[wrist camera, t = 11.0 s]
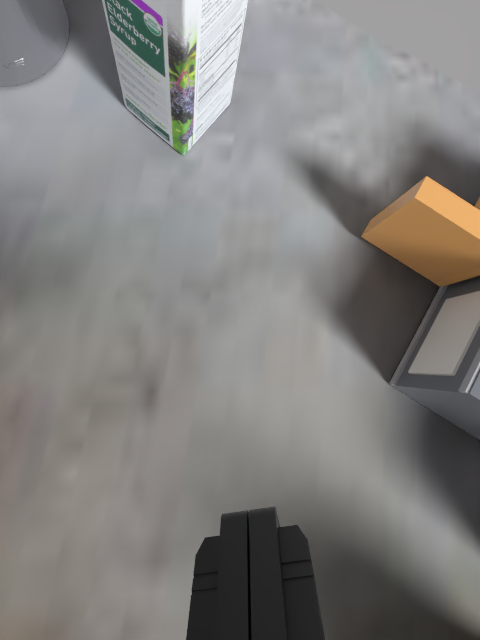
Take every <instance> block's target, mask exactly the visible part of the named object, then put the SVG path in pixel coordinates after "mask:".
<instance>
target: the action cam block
mask: <svg viewBox="0 0 480 640" xmlns="http://www.w3.org/2000/svg"><path fill="white" fill-rule="evenodd" d="M389 384H390V385H391V386H392V387H394V388H395V389H397V390H399V391H400V392H402V393H404V394H405V395H407V396H409V397H410V398H412V399H413V400H415V401H417V402H418V403H420V404H422V405H423V406H425V407H426V408H428V409H430V410H431V411H433V412H435V413H436V414H438V415H439V416H441V417H443V418H444V419H446V420H448V421H449V422H451V423H452V424H454V425H456V426H457V427H459V428H461V429H462V430H464V431H466V432H467V433H469V434H470V435H472V436H474V437H475V438H477V439H479V440H480V275H479V276H476V277H473V278H469V279H466V280H463V281H459V282H456V283H453V284H449V285H446V286H443V287H440V288H439V290H438V292H437V294H436V296H435V297H434V299H433V301H432V303H431V305H430V307H429V309H428V311H427V313H426V315H425V316H424V318H423V320H422V322H421V324H420V326H419V328H418V330H417V332H416V334H415V335H414V337H413V339H412V341H411V343H410V345H409V347H408V349H407V351H406V353H405V354H404V356H403V358H402V360H401V362H400V364H399V366H398V368H397V370H396V372H395V373H394V375H393V377H392V379H391V381H390V383H389Z"/></svg>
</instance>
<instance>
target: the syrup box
mask: <svg viewBox="0 0 480 640" xmlns="http://www.w3.org/2000/svg"><path fill="white" fill-rule="evenodd" d="M247 3H248V0H102V4H103V8H104V12H105V16H106V21H107V26H108V30H109V35H110V39H111V43H112V48H113V53H114V57H115V62H116V66H117V71H118V75H119V80H120V85H121V89H122V94H123V99H124V104H125V106H126V108H127V109H128V110H129V111H130V112H132V113H133V114H134V115H135V116H136V117H138V118H139V119H140V120H141V121H142V122H143V123H144V124H145V125H146V126H148V127H149V128H150V129H151V130H153V131H154V132H155V133H156V134H157V135H158V136H160V137H161V138H162V139H163V140H165V141H166V142H167V143H168V144H169V145H171V146H172V147H173V148H174V149H176V150H177V151H178V152H179V153H180V154H181V155H185V154H186V152H187V151H188V150H189V149H190V148H191V147H192V146H193V145H194V143H195V142H196V141H197V140H198V139H199V138H200V137H201V136H202V134H203V133H204V132H205V131H206V130H207V129H208V128H209V126H210V125H211V124H212V123H213V122H214V121H215V120H216V119H217V118H218V116H219V115H220V114H221V113H222V112H223V111H224V110H225V109H226V107H227V106H228V105H229V104H230V101H231V96H232V90H233V84H234V78H235V72H236V67H237V61H238V55H239V50H240V45H241V38H242V33H243V27H244V21H245V15H246V9H247Z"/></svg>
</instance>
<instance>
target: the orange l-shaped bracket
mask: <svg viewBox="0 0 480 640" xmlns="http://www.w3.org/2000/svg"><path fill="white" fill-rule="evenodd" d="M361 237H362V238H364V239H365V240H367V241H369V242H370V243H372V244H373V245H375V246H376V247H378V248H380V249H381V250H383V251H384V252H386V253H388V254H389V255H391V256H392V257H394V258H395V259H397V260H399V261H400V262H402V263H403V264H405V265H407V266H408V267H410V268H411V269H413V270H414V271H416V272H418V273H419V274H421V275H422V276H424V277H425V278H427V279H429V280H430V281H432V282H433V283H435V284H437V285H438V286H440V287H443V286H446V285H449V284H453V283H456V282H459V281H463V280H466V279H469V278H473V277H476V276H479V275H480V197H479V199H478V201H477V202H476V204H475V206H472V205H471V204H469V203H468V202H466V201H465V200H463V199H461V198H460V197H458V196H457V195H455V194H454V193H452V192H451V191H449V190H448V189H446V188H444V187H443V186H441V185H440V184H438V183H437V182H435V181H434V180H432V179H431V178H429V177H427V176H426V177H425V178H423V179H422V180H421V181H420V182H418V183H417V184H416V185H414V186H413V187H412V188H411V189H409V190H408V191H407V192H406V193H404V194H403V195H402V196H400V197H399V198H398V199H397V200H395V201H394V202H393V203H391V204H390V205H389V206H388V207H386V208H385V209H384V210H383V211H381V212H380V213H379V214H377V215H376V216H375V217H374V218H372V219H371V220H370V222H369V223H368V225H367V227H366V229H365V230H364V232H363V234H362V236H361Z"/></svg>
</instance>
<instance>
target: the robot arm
mask: <svg viewBox="0 0 480 640" xmlns="http://www.w3.org/2000/svg"><path fill="white" fill-rule="evenodd" d="M68 36H69V20H68V16H67V13H66V9H65V6H64V3H63V0H0V86H14V85H21V84H24V83H27V82H30V81H33V80H35V79H37V78H39V77H41V76H42V75H44V74H46V73H47V72H48V71H49V70H50V69H51V68H52V67H54V66H55V64H56V63H57V62H58V60H59V59H60V58H61V56H62V55H63V53H64V50H65V48H66V46H67V42H68ZM186 640H325V637H324V631H323V625H322V620H321V614H320V608H319V602H318V596H317V590H316V584H315V579H314V573H313V568H312V562H311V556H310V551H309V545H308V540H307V539H306V537H305V536H304V534H303V533H302V531H301V530H300V528H299V527H298V526H297V525H293V526H286V527H280V526H279V521H278V516H277V511H276V508H275V507H270V508H263V509H256V510H250V511H249V512H248V511H241V512H234V513H227V514H222V516H221V528H220V536H214V537H207V538H205V539H204V541H203V543H202V545H201V547H200V548H199V550H198V552H197V554H196V558H195V567H194V579H193V585H192V595H191V602H190V611H189V620H188V629H187V637H186Z"/></svg>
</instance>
